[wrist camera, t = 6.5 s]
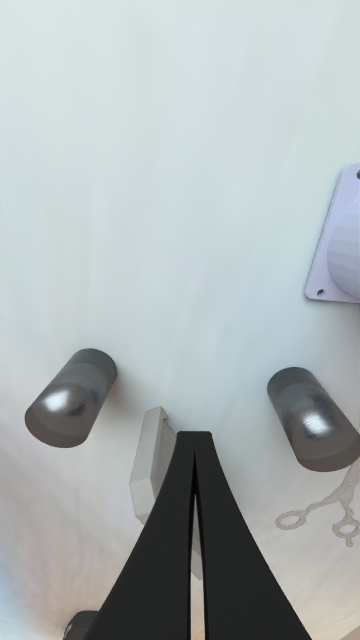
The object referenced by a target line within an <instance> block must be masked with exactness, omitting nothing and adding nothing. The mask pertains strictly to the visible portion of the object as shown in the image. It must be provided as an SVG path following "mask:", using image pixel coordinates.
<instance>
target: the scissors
mask: <svg viewBox="0 0 360 640" xmlns="http://www.w3.org/2000/svg"><path fill="white" fill-rule="evenodd" d="M359 472H360V457H359V458H358V459H357V460H356V461H355V462H354V463H352V465H351V467H350V469H349V471H348V473H347V475H346V477H345V479H344V481H343V483H342V485H341V486H340V487H338V488H337V489H336V490H335V491H334V492H333V493H331V494H330V495H329V496H328V497H326V498H325V499H324V500H322V501H320V502H318V503H313V504H310V505H309V506H308V507H307V508H306V509H305V510H299V511H291V512H287V513H284V514H282V515H280V516H279V517H278V518H277V519H276V525H277V527H278V528H280V529H284V530H290V529H295V528H297V527H299V526H301V525H303V524H304V523H306V520H305V515H307V514H308V513H309V512H310V511H311V510H313V509H316V508H318V507H321V506H324V505H327V504H331V503H334V502H337V501H340V500H341V502H342V504H343V506H344V507H345V509H346V516H345V517H344V519H343V520H342V521H340V522H338V523H336V524H333V530H334V533H335V534H336V535H337V536H338V537H340V538H346V540H347V541H346V545H347V546H348V547H351V546H353V544H352V542H351V537H355V536H356V535H358V534H359V533H360V523H359V522H358V521H357V520H354V519H352V518H351V516H352V515H353V514H354V513H353V511H352V510H351V509H350V508H349V507H348V506H349V504H350V502H351V500H352V498H353V493H354V488H355V486H356V485H357V484H359V483H360V474H359ZM288 516H299V517H300V519H299V520H298V521H297V522H296V523H295V524H293V525H290V526H284V525H281V524H280V521H281V520H282V519H283V518H285V517H288ZM347 524H351V525H356V528H355V530H354V531H353V532H351V533H347V534H343V533H339V529H340V528H341V527H342V526H344V525H347Z"/></svg>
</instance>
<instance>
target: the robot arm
mask: <svg viewBox="0 0 360 640" xmlns="http://www.w3.org/2000/svg"><path fill="white" fill-rule="evenodd" d="M359 170H360V163H351V164H348V165H347V166H345V167H344V168H343V169H342V171H341V173H340V176H339V179H338V182H337V186H336V189H335V192H334V195H333V199H332V202H331V205H330V209H329V212H328V215H327V218H326V222H325V225H324V228H323V231H322V235H321V238H320V241H319V244H318V248H317V251H316V254H315V258H314V261H313V264H312V267H311V271H310V274H309V277H308V280H307V284H306V287H305V290H304V294H305V296H306V297H307V298H309V299H315V300H326V301H337V302H349V303H360V179H358V178H357V172H358V171H359ZM321 289H322V293H321V294H320V295H317V293H318V291H319V290H321ZM195 495H196V505H197V516H198V527H199V538H200V548H201V559H202V572H203V591H204V622H205V640H312V639H311V637H310V636H309V634H308V633H307V631H306V629H305V628H304V626H303V624H302V623H301V621H300V619H299V618H298V616H297V614H296V613H295V611H294V609H293V608H292V606H291V604H290V603H289V601H288V599H287V597H286V596H285V594H284V592H283V591H282V589H281V587H280V586H279V584H278V582H277V581H276V579H275V577H274V575H273V574H272V572H271V570H270V568H269V566H268V564H267V563H266V561H265V559H264V557H263V555H262V554H261V552H260V550H259V548H258V546H257V544H256V542H255V540H254V538H253V536H252V534H251V533H250V531H249V529H248V527H247V524H246V522H245V520H244V518H243V516H242V514H241V512H240V510H239V508H238V506H237V503H236V501H235V499H234V497H233V494H232V492H231V490H230V487H229V485H228V482H227V480H226V478H225V475H224V473H223V470H222V467H221V465H220V462H219V459H218V456H217V453H216V450H215V446H214V443H213V439H212V434H211V433H210V432H209V431H179V432H178V433H177V438H176V443H175V447H174V451H173V454H172V457H171V461H170V464H169V467H168V470H167V472H166V475H165V478H164V481H163V484H162V486H161V489H160V491H159V494H158V496H157V498H156V501H155V503H154V506H153V508H152V510H151V513H150V515H149V517H148V519H147V521H146V524H145V526H144V528H143V530H142V532H141V534H140V536H139V538H138V540H137V542H136V544H135V546H134V548H133V550H132V552H131V554H130V556H129V558H128V560H127V562H126V564H125V566H124V568H123V570H122V571H121V573H120V575H119V577H118V579H117V581H116V582H115V584H114V586H113V588H112V590H111V591H110V593H109V595H108V597H107V598H106V600H105V602H104V604H103V605H102V607H101V609H100V610H99V612H98V614H97V616H96V617H95V619H94V621H93V622H92V624H91V626H90V627H89V629H88V631H87V633H86V634H85V636H84V638H83V639H82V640H191V558H192V541H193V524H194V507H195Z"/></svg>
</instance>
